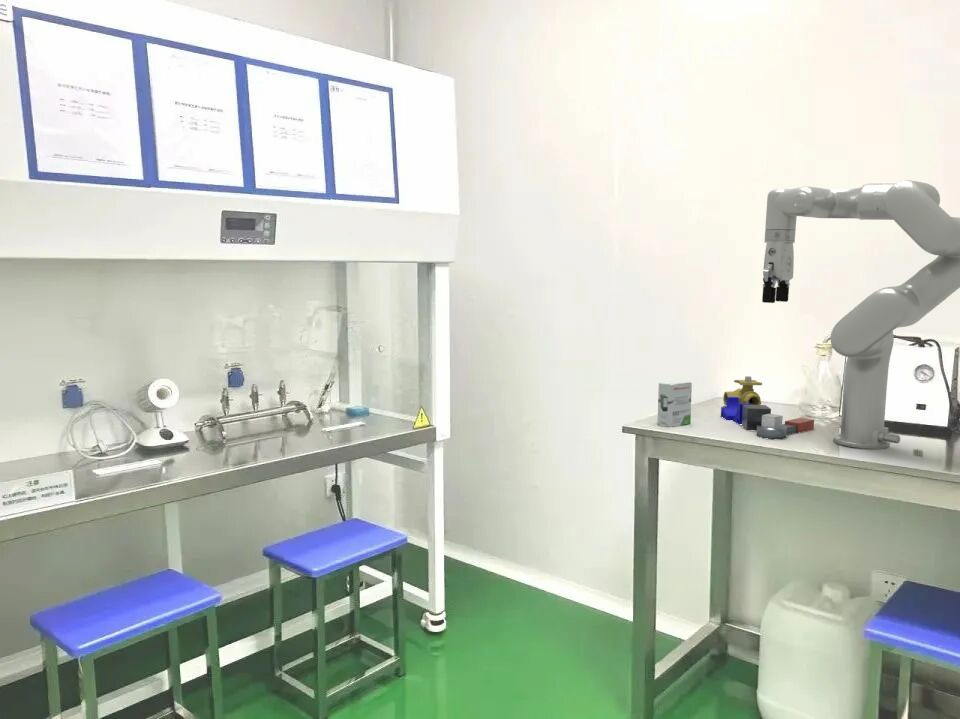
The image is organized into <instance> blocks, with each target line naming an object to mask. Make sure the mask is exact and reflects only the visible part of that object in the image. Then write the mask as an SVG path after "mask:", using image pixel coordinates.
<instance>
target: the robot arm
mask: <svg viewBox="0 0 960 719" xmlns="http://www.w3.org/2000/svg"><path fill="white" fill-rule="evenodd" d="M940 202H941V195H940V193H939V191H938V189H937V188H936V187H934V186H933V185H931V184H930V183H926V182H924V181H923V182H922V181H916V180H901V181H898V182H896V183H895V182H894V183H865V184H863V185H862V186H861V187H856V188H821V187H814V186H801V187H794V188H791V189H790V188H778V189H772V190H770V191H768V192H767V199H766V210H765V211H766V213H765V228H764V243H766V245H765V250H764V258H763V269H762V273H763V278H762V280H763V282H762V295H761V296H762V299H761V302H762V303H767V304H768V303H769V304H775V303H776V302H783V303H784V302H786V303H787V302H789V293H790V292H789V290H790V286H791V285H790V281H791V280H792V279H794V267H795V266H794V265H795V264H794V261H795V260H794V258H795V257H794V255H795V253H794V252H795V251H794V243H796V241H795V240H796V229H797V217H803V218H804V217H805V218H814V219H857V220H860V221H861V220H863V221H864V220H865V221H867V220H869V221H870V220H871V221H872V220H873V221H875V220H876V221H877V220H878V221H885V220H886V221H887V220H888V221H894V222H895V223H896V224H897V225H898V226H899V227H900V228H901V230H902V231H903V232H905V234H907V235H908V237H910V239H912V241H913V242H914V243H915V244H917V246H919V248H921V249H922V250H923V251H925V252H926V253H928V254H931V255H933V256H937V257H935V259H933V260H932V261H930V262H929V263H928V264H926V265H925V266H923V267H922V268H920V269H919V270H918V271H917V272H916V273H915V274H913V275H912V276H911V277H910V278H908V279H907V280H905V281H904V282H903V283H902V284H900V285H897V286H896V285H895V286H886V287H882V288H879V289H878V290H876V291H874V292H873V293H871V294H870V295H868V296H867V297H866V298H865V299H863V300H862V301H861V302H860V303H859V304H857V305H856V306H855V307H854V308H853V309H852V310H850V311H849V312H848V313H847V314H845V315H844V317H842V318H841V319H839V321H837V322H836V324H834V326H833V328H832V330H831V333H830V336H829V337H830V344H831V346H832V348H833V350H834V351H835V352H836V353H837V354H838V355H841V356H842V357H846V361H845V366H844V375H843V377H844V378H843V386H842V387H843V388H842V402H841V403H842V404H841V418H840V419H841V420H840V421H841V422H840V434H836V435H834V436H833V437H832V438H833V439H832V441H833V442H834V443H836V444H837V445H842V446H845V447H850V448H857V449H863V450H864V449H866V450H881V449H887V448H890V446H891V443H893V444H900V441H901V436H900V434H896V433H890V432H889V427H887V426H885V419H886V418H885V417H886V405H887V402H886V401H887V390H888V389H887V388H888V377H889V367H890V361H891V357H892V356H891V355H892V351H893V348H894V341H895V338H894V331H895V330H896V329H897V328H906V327H910V326H913V325H915V324H916V323H918V322H919V321H921V320H922V319H923V318H924V317H925V316H926V315H927V314H929V313H930V312H932V311H933V310H934V309H935V308H936V307H937V306H939V305H941V303H943V302H944V301H945V300H946V299H948V297H950V296H952V294H954V293H955V292H956V291H958V290H959V289H960V217H954V216H951V215H949V214H948V213H947V211H945V210H944V209H943V208H942V207H941V206H940ZM776 284H777V286H776ZM775 286H776V287H775Z"/></svg>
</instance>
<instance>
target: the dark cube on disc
mask: <svg viewBox="0 0 960 719" xmlns="http://www.w3.org/2000/svg"><path fill="white" fill-rule="evenodd" d="M766 414H772V408H770V407H769V406H768V405H766V404H761V405H743V410H742V425H741V427H742V426H743V427H744V428H745V429H746V430H755V431H754V432H757V425H760V424H762V415H766ZM744 428H743V429H744ZM745 429H744V430H745ZM746 430H745V431H746Z"/></svg>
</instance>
